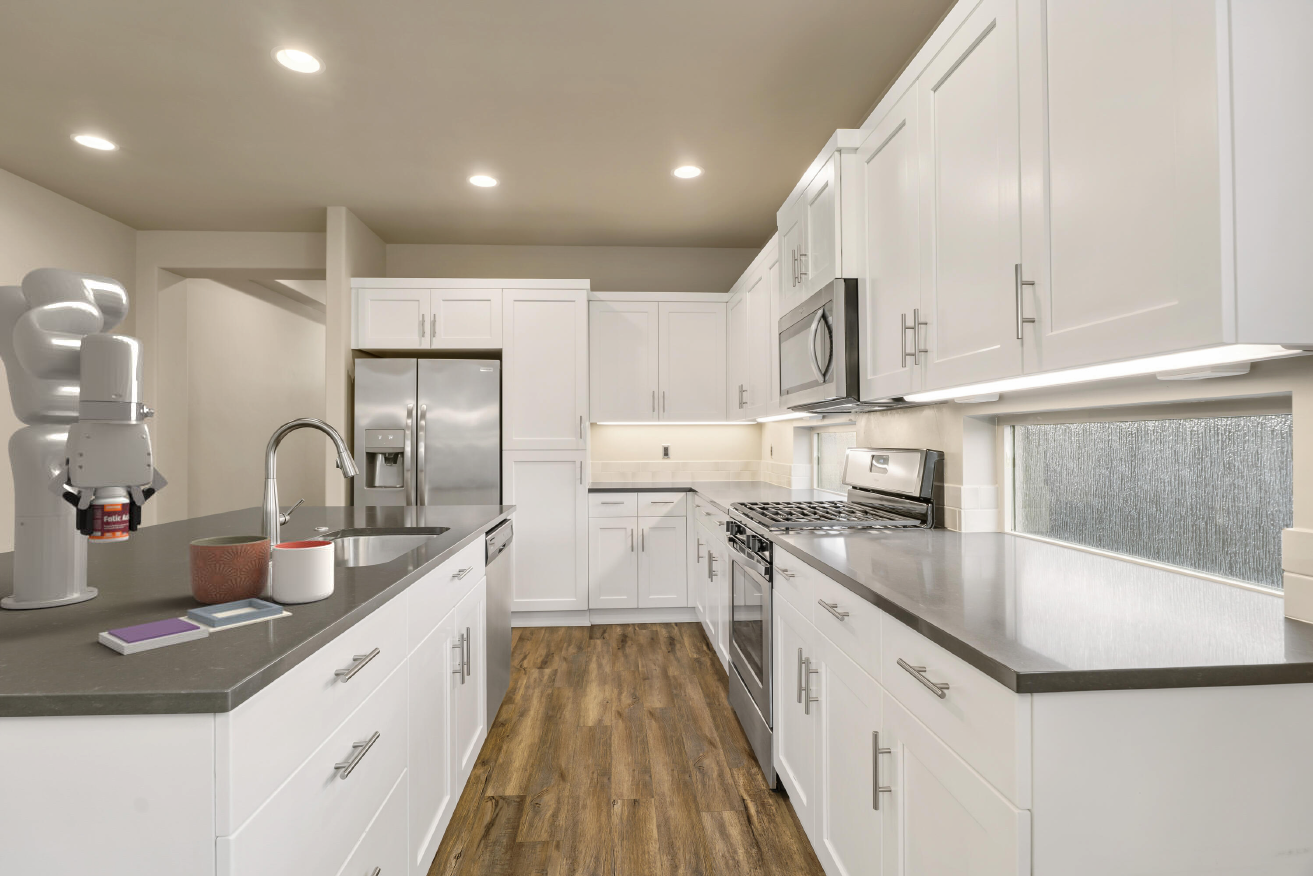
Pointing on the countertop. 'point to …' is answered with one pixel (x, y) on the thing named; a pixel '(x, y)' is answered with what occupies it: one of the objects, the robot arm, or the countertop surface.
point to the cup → (302, 571)
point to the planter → (229, 568)
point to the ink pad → (152, 635)
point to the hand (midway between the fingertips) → (109, 531)
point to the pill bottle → (110, 515)
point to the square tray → (235, 614)
